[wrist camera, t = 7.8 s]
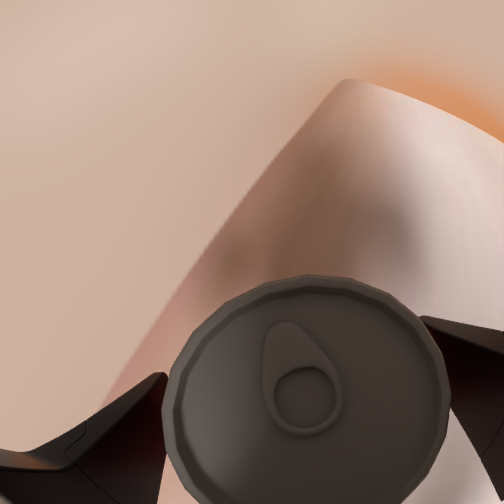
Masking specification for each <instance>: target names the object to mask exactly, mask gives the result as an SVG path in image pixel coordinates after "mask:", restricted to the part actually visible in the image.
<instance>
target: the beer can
mask: <svg viewBox="0 0 504 504" xmlns="http://www.w3.org/2000/svg"><path fill="white" fill-rule="evenodd" d="M450 402H451V390H450V385H449V380H448V375H447V371H446V366H445V362H444V358H443V354H442V352H441V350H440V349H439V347H438V345H437V344H436V342H435V341H434V339H433V337H432V336H431V334H430V333H429V331H428V329H427V328H426V326H425V325H424V323H423V322H422V320H421V319H420V318H419V317H418V316H416V315H415V314H414V313H413V312H412V311H410V310H409V309H408V308H407V307H405V306H404V305H403V304H402V303H401V302H399V301H398V300H397V299H396V298H394V297H393V296H392V295H391V294H389V293H387V292H384V291H382V290H379V289H377V288H374V287H372V286H369V285H366V284H364V283H361V282H359V281H356V280H354V279H351V278H341V277H329V276H318V275H303V276H298V277H293V278H288V279H283V280H278V281H272V282H267V283H264V284H262V285H260V286H258V287H256V288H254V289H252V290H250V291H248V292H246V293H244V294H242V295H239V296H237V297H235V298H233V299H231V300H229V301H227V302H225V303H224V304H223V305H222V306H221V307H220V308H219V309H218V310H216V311H215V312H214V313H213V314H212V315H211V316H210V317H209V318H208V319H207V320H205V321H204V322H203V323H202V324H201V325H200V326H199V327H198V328H197V329H195V330H194V331H193V333H192V334H191V336H190V337H189V339H188V341H187V342H186V344H185V346H184V347H183V349H182V351H181V352H180V354H179V356H178V357H177V359H176V361H175V362H174V364H173V366H172V367H171V370H170V374H169V378H168V382H167V386H166V391H165V395H164V399H163V404H162V408H161V411H162V422H163V431H164V440H165V448H166V452H167V454H168V456H169V459H170V461H171V463H172V465H173V467H174V469H175V471H176V473H177V475H178V477H179V479H180V481H181V483H182V485H183V486H184V488H185V489H186V490H187V491H188V492H189V494H190V495H191V496H192V497H193V498H194V499H196V500H197V501H198V502H199V503H200V504H401V503H402V502H403V501H404V500H405V499H406V498H407V497H408V496H409V495H410V494H411V493H412V492H413V491H414V490H415V489H416V488H417V486H418V485H419V484H420V483H421V482H422V481H423V480H424V479H425V477H426V476H427V475H428V473H429V471H430V469H431V467H432V465H433V463H434V461H435V459H436V457H437V455H438V453H439V451H440V449H441V446H442V444H443V442H444V440H445V437H446V433H447V427H448V420H449V411H450Z"/></svg>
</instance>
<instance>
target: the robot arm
mask: <svg viewBox="0 0 504 504" xmlns="http://www.w3.org/2000/svg"><path fill="white" fill-rule="evenodd" d="M419 318H420V319H421V320H422V322H423V323H424V325H425V326H426V328H427V329H428V331H429V333H430V334H431V336H432V337H433V339H434V341H435V342H436V344H437V345H438V347H439V349H440V350H441V352H442V354H443V358H444V362H445V366H446V371H447V375H448V380H449V385H450V390H451V402H450V408H451V409H452V411H453V412H454V414H455V416H456V417H457V419H458V421H459V422H460V424H461V426H462V427H463V429H464V431H465V432H466V434H467V436H468V438H469V439H470V441H471V443H472V445H473V447H474V448H475V450H476V452H477V454H478V456H479V457H480V459H481V462H482V464H483V465H484V467H485V469H486V471H487V473H488V475H489V477H490V479H491V481H492V483H493V485H494V488H495V490H496V492H497V494H498V496H499V498H500V500H501V501H503V500H504V331H500V330H494V329H489V328H484V327H479V326H474V325H469V324H464V323H459V322H454V321H449V320H444V319H439V318H434V317H430V316H425V315H423V316H420V317H419ZM167 382H168V376H167V374H166V373H164V372H156V373H153V374H151V375H150V376H149V377H147V378H146V379H144V380H143V381H142V382H140V383H139V384H137V385H136V386H135V387H133V388H132V389H130V390H129V391H127V392H126V393H125V394H123V395H122V396H120V397H119V398H117V399H116V400H115V401H113V402H112V403H110V404H109V405H107V406H106V407H104V408H103V409H101V410H100V411H99V412H97V413H96V414H94V415H93V416H91V417H90V418H88V419H87V421H86V420H85V421H84V422H82V423H81V424H79V425H77V426H76V427H74V428H73V429H71V430H70V431H68V432H66V433H64V434H63V435H61V436H59V437H57V438H55V439H53V440H51V441H50V442H47V443H45V444H44V445H42V446H40V447H38V448H36V449H33V450H31V451H28V452H15V451H9V450H4V449H0V504H157V501H158V495H159V490H160V485H161V479H162V474H163V469H164V464H165V459H166V454H167V452H166V448H165V440H164V431H163V422H162V411H161V408H162V404H163V399H164V395H165V391H166V386H167Z"/></svg>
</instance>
